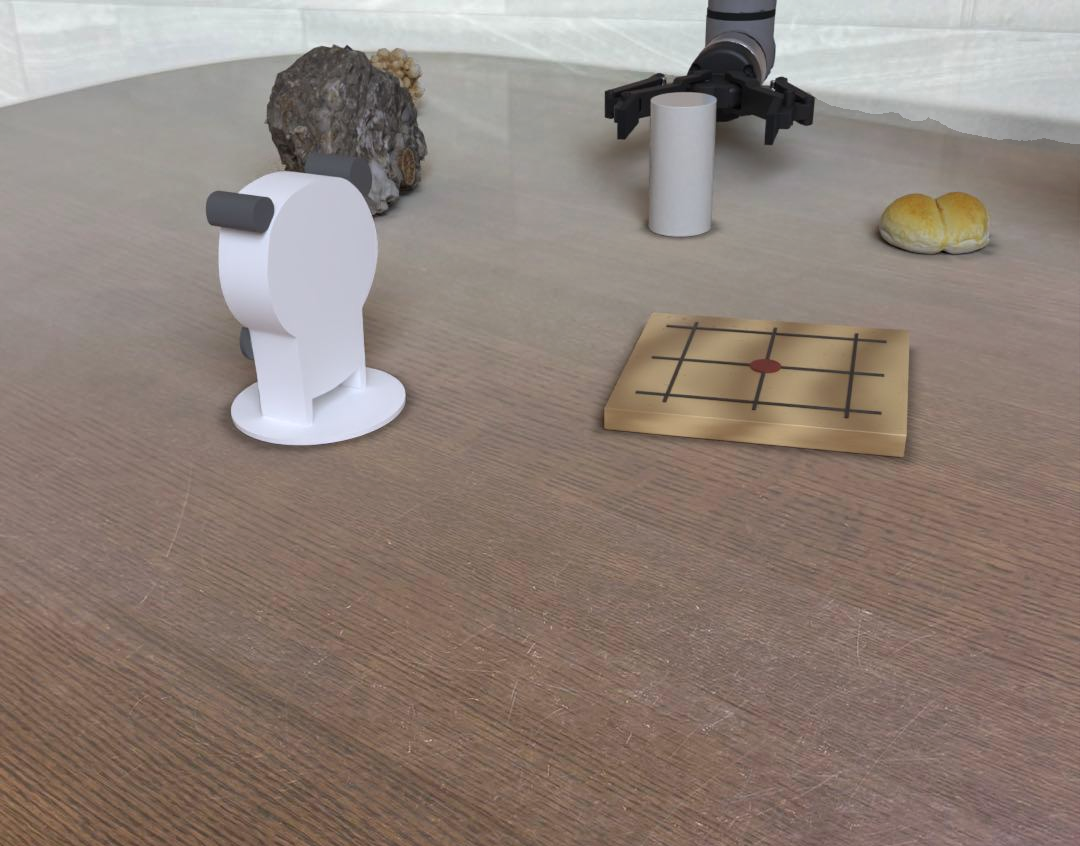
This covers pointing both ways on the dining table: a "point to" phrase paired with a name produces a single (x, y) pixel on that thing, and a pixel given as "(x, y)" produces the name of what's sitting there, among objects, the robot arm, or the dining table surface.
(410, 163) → the rock
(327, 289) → the white plastic upright piece
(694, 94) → the white tube
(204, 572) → the dining table surface
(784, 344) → the game board
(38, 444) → the dining table surface
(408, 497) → the dining table surface
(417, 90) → the mineral formation
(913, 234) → the bread roll
